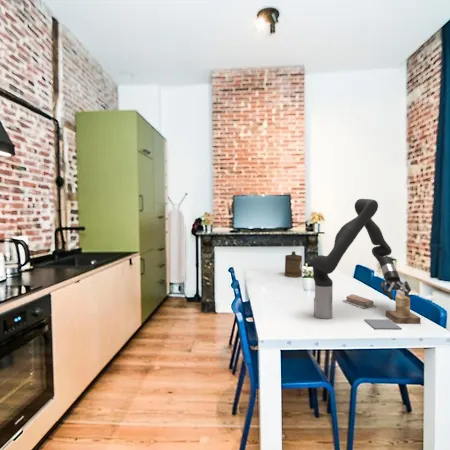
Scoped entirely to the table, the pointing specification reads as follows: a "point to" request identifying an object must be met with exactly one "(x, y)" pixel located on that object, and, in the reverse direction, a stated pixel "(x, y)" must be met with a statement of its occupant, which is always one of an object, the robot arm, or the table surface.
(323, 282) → the robot arm
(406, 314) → the maple block
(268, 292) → the table surface
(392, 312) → the walnut ledge
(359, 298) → the packaged product
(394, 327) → the mat
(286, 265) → the wooden container
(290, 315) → the table surface
